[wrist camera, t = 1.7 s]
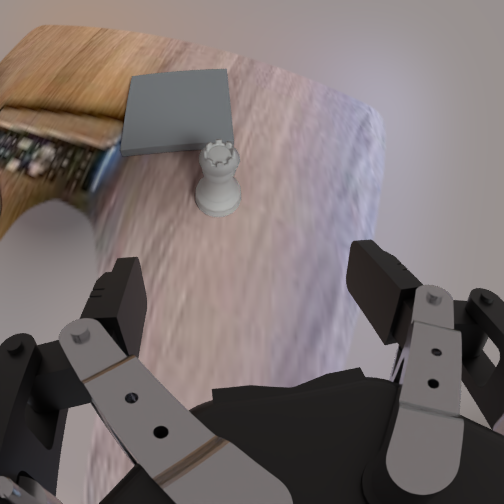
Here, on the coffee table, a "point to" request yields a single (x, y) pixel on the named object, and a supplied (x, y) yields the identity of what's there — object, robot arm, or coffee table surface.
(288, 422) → the robot arm
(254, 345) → the coffee table surface
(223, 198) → the rook chess piece
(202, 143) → the slate tile
